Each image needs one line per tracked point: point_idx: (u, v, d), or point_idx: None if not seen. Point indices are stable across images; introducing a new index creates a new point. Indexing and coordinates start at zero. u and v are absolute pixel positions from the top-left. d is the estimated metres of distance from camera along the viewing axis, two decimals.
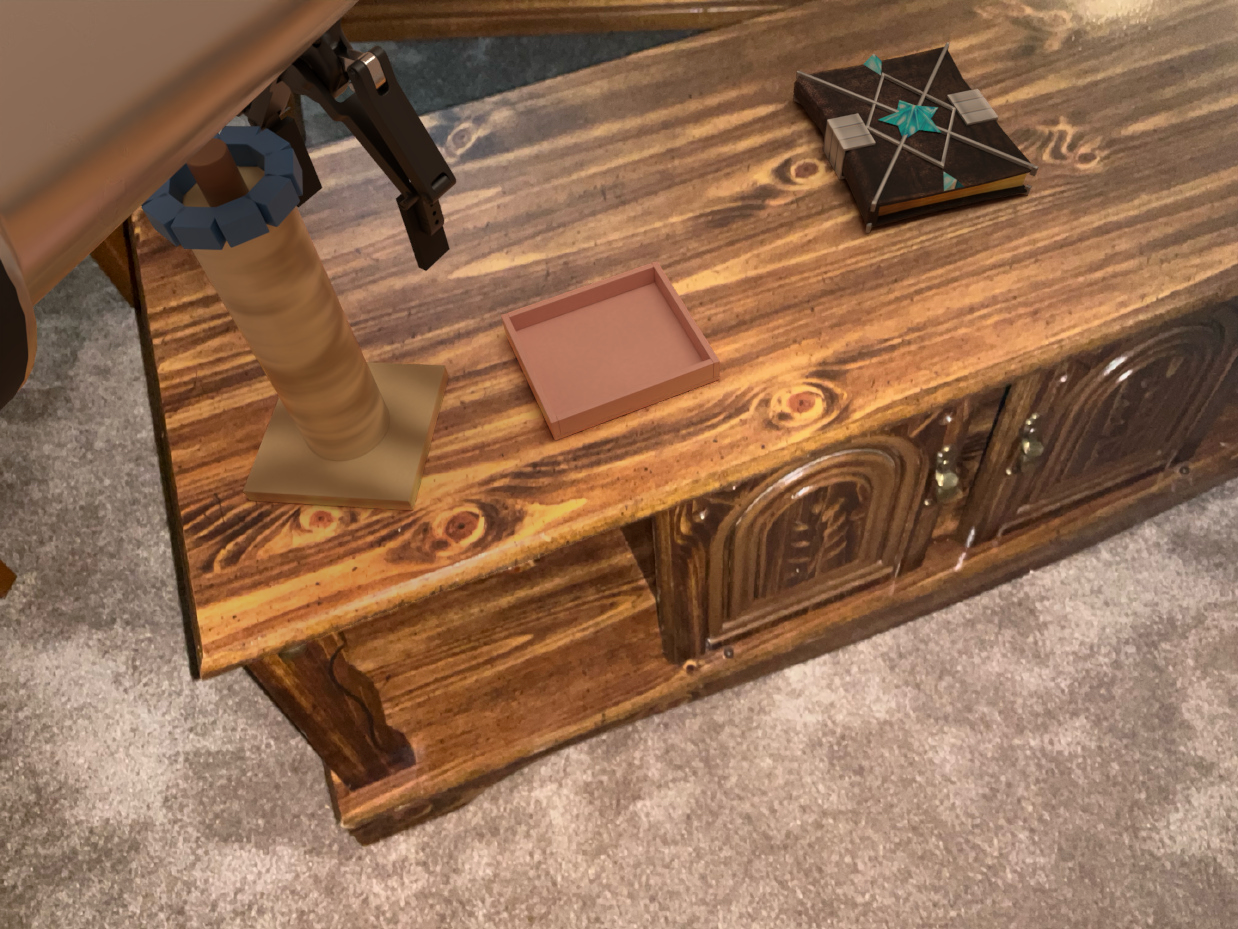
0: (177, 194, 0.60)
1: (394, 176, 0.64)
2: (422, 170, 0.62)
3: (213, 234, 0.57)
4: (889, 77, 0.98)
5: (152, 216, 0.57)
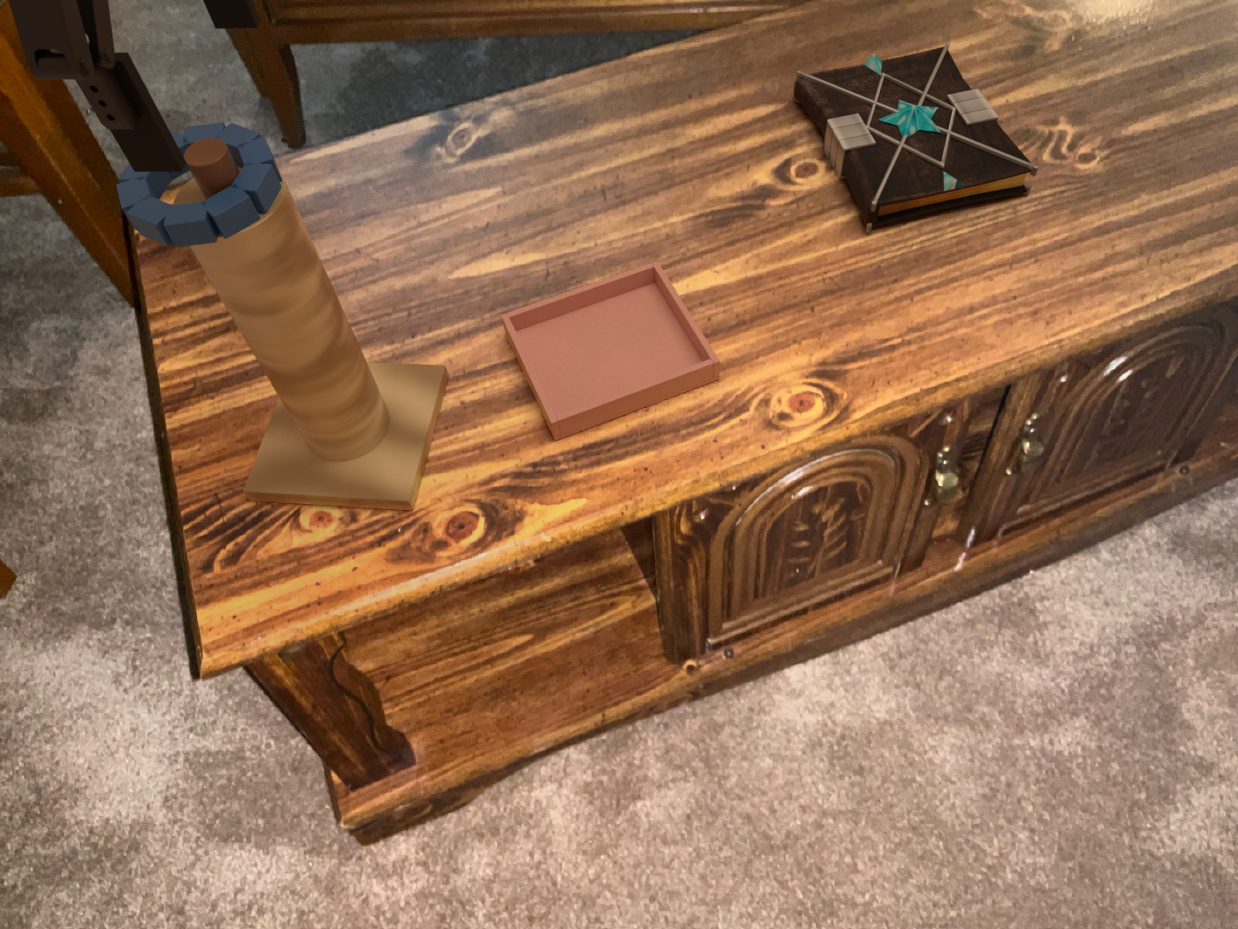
0: (161, 178, 0.61)
1: None
2: (26, 26, 0.43)
3: (159, 231, 0.57)
4: (889, 77, 0.98)
5: (119, 196, 0.59)
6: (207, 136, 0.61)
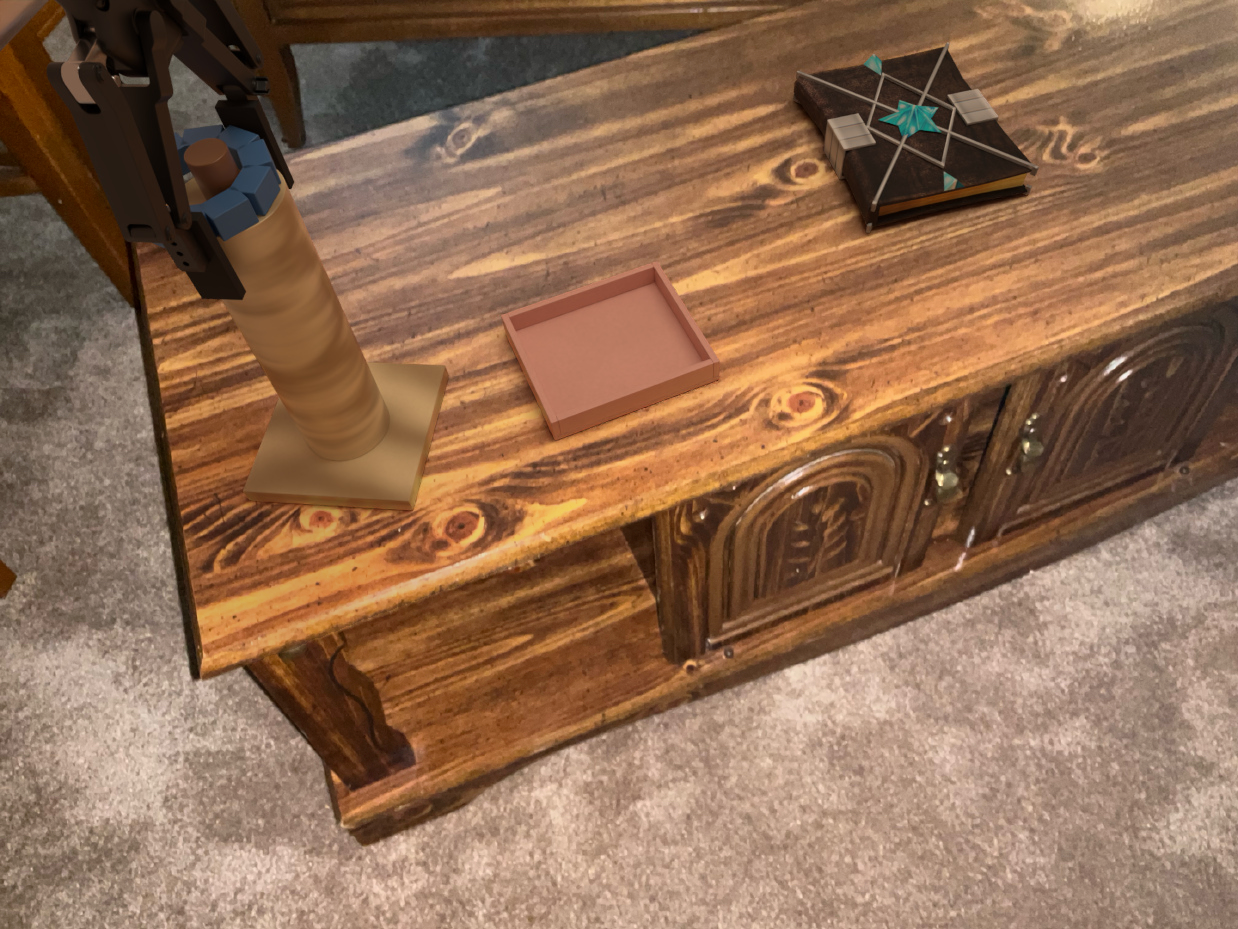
0: None
1: None
2: (120, 208, 0.51)
3: None
4: (889, 77, 0.98)
5: None
6: (206, 138, 0.61)
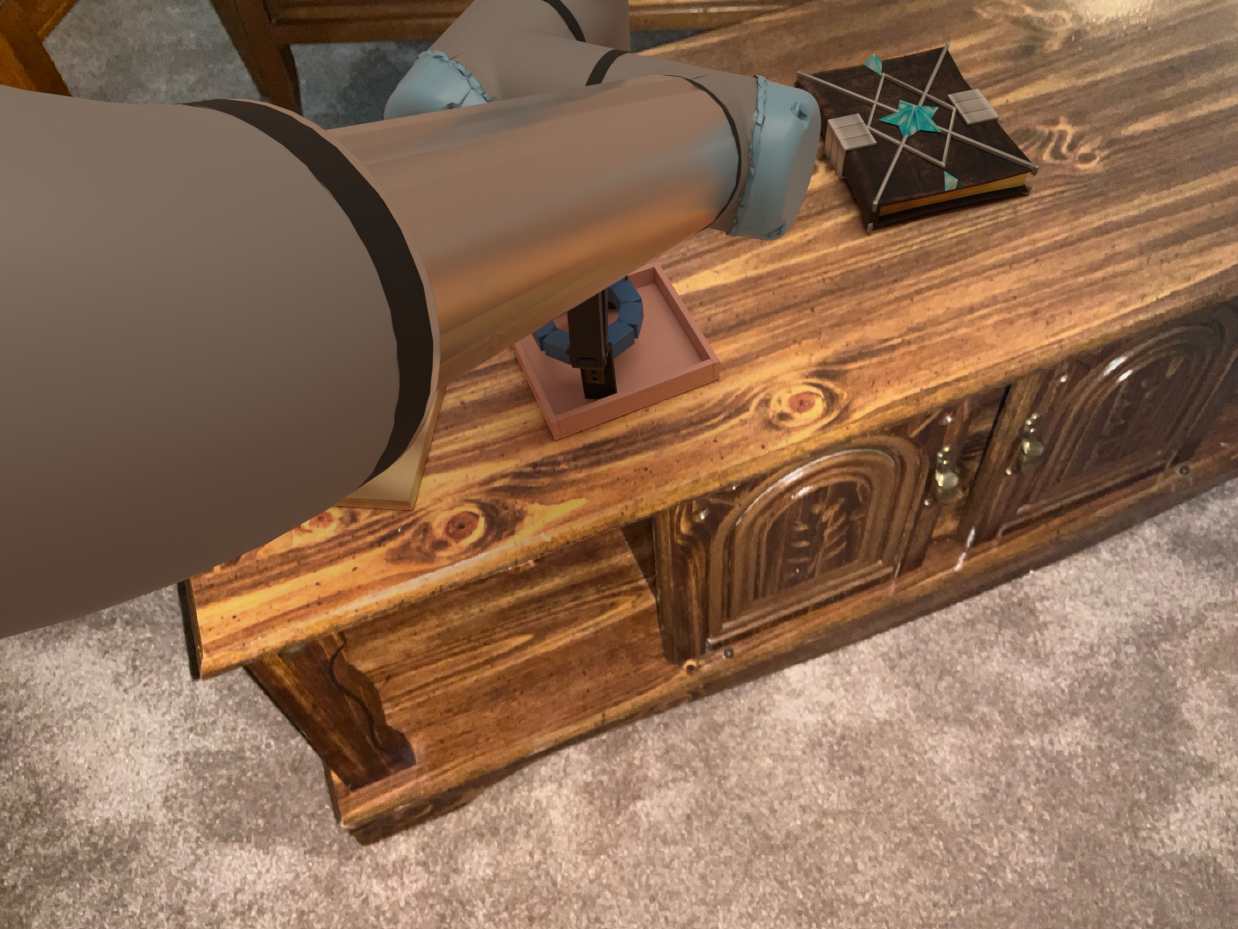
0: None
1: None
2: (576, 346, 0.72)
3: None
4: (889, 77, 0.98)
5: None
6: None
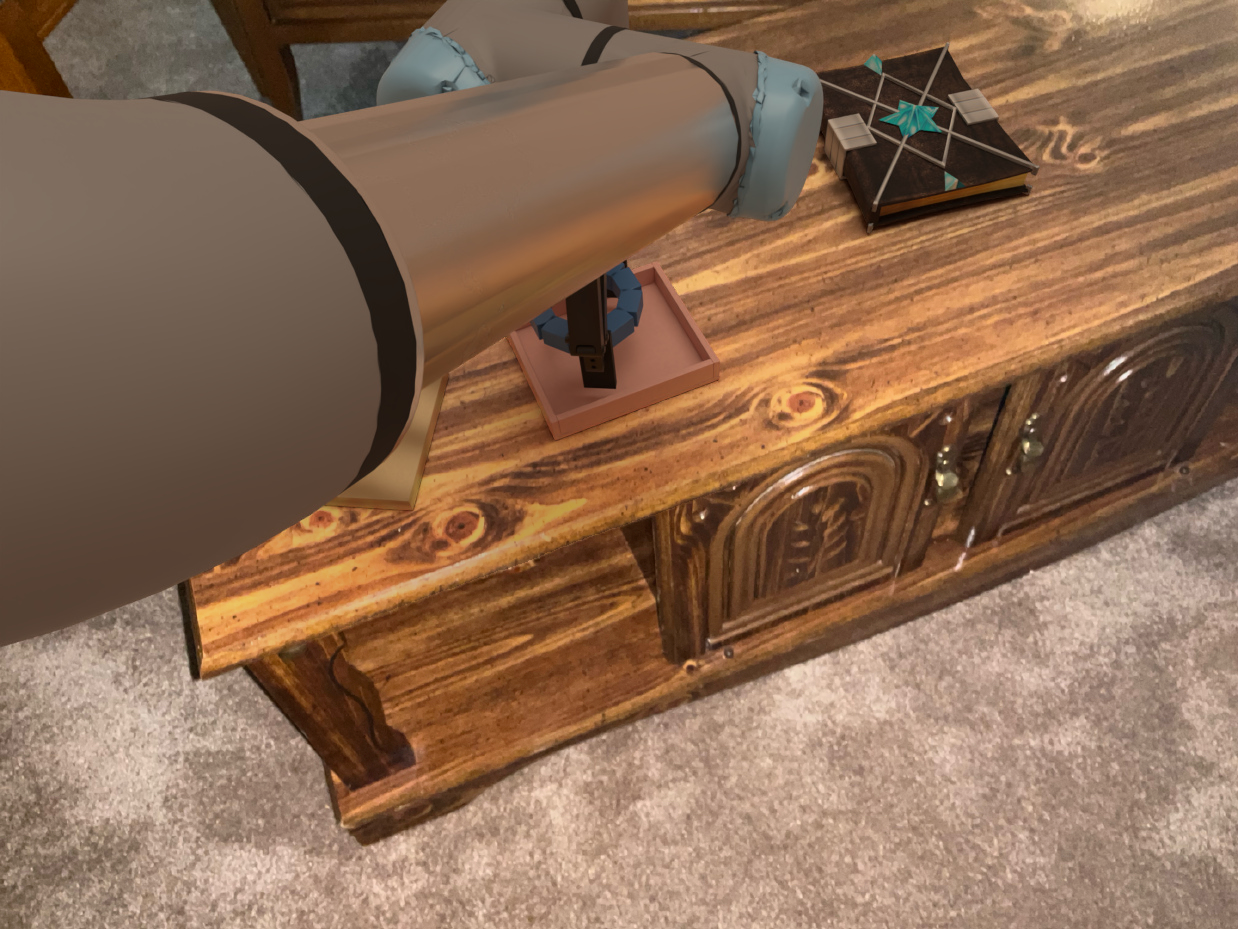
0: None
1: None
2: (575, 334, 0.71)
3: (568, 343, 0.77)
4: (889, 77, 0.98)
5: None
6: None
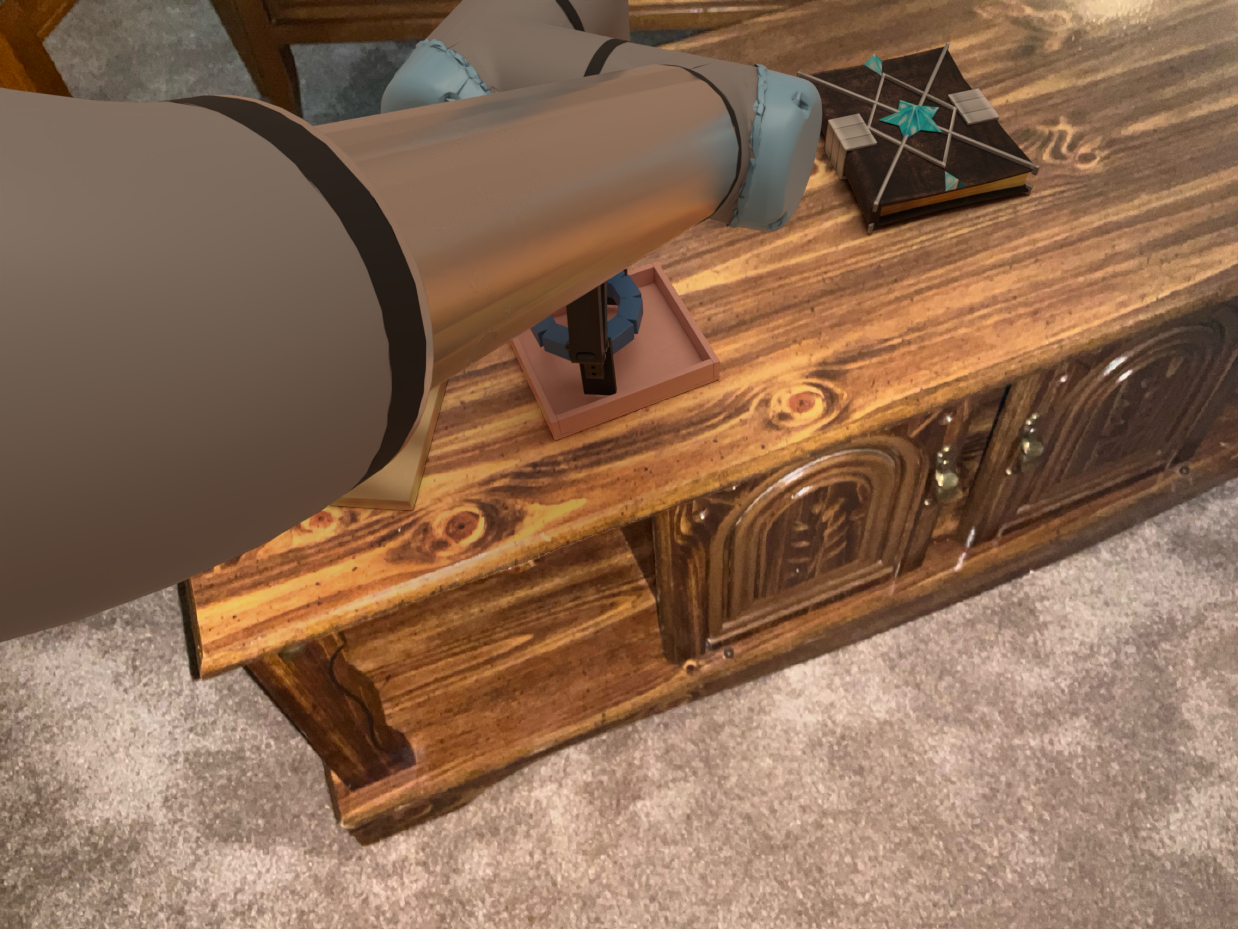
0: None
1: None
2: (575, 341, 0.71)
3: None
4: (890, 77, 0.98)
5: None
6: None
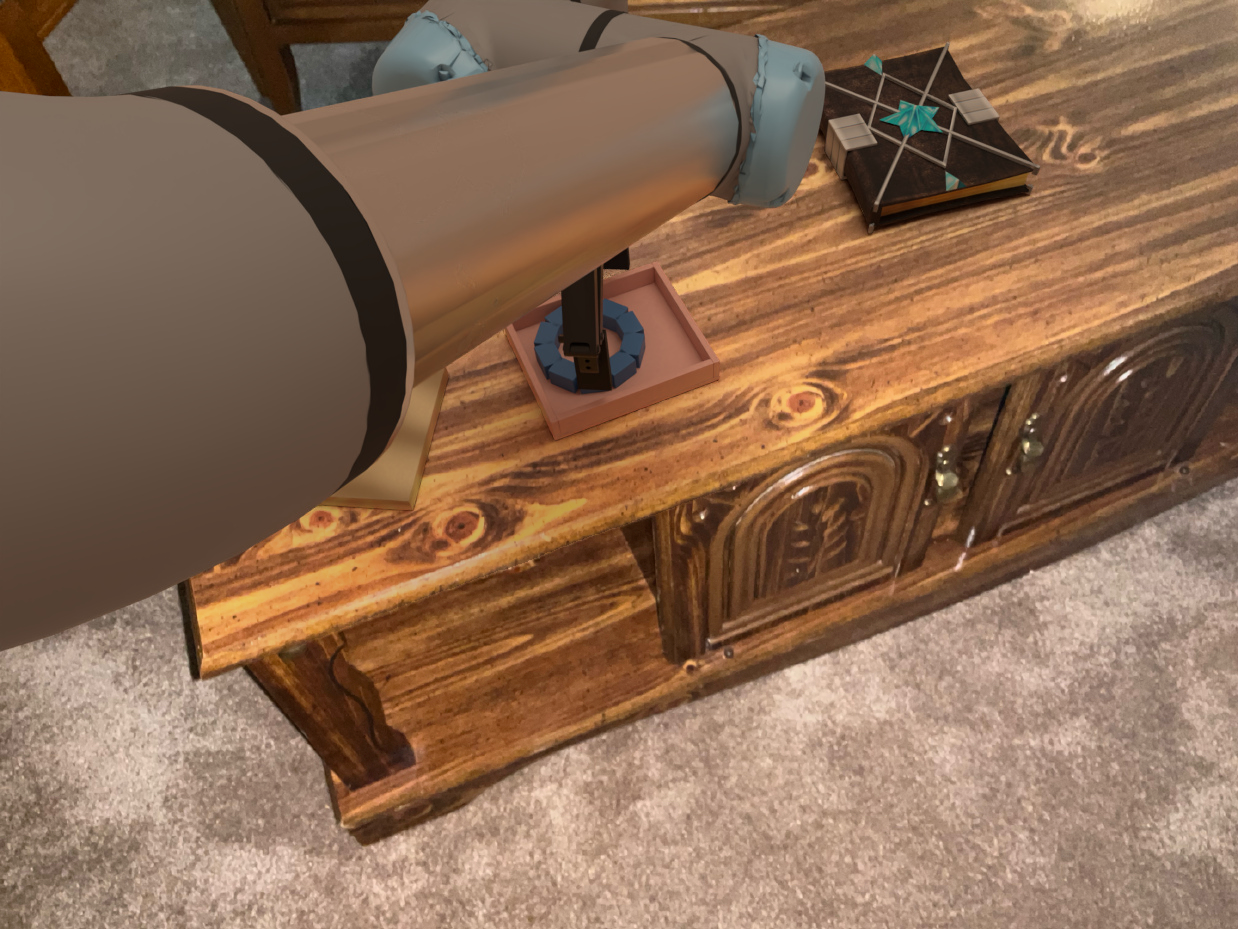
0: None
1: None
2: (569, 330, 0.69)
3: (573, 384, 0.81)
4: (890, 77, 0.98)
5: (539, 357, 0.83)
6: None
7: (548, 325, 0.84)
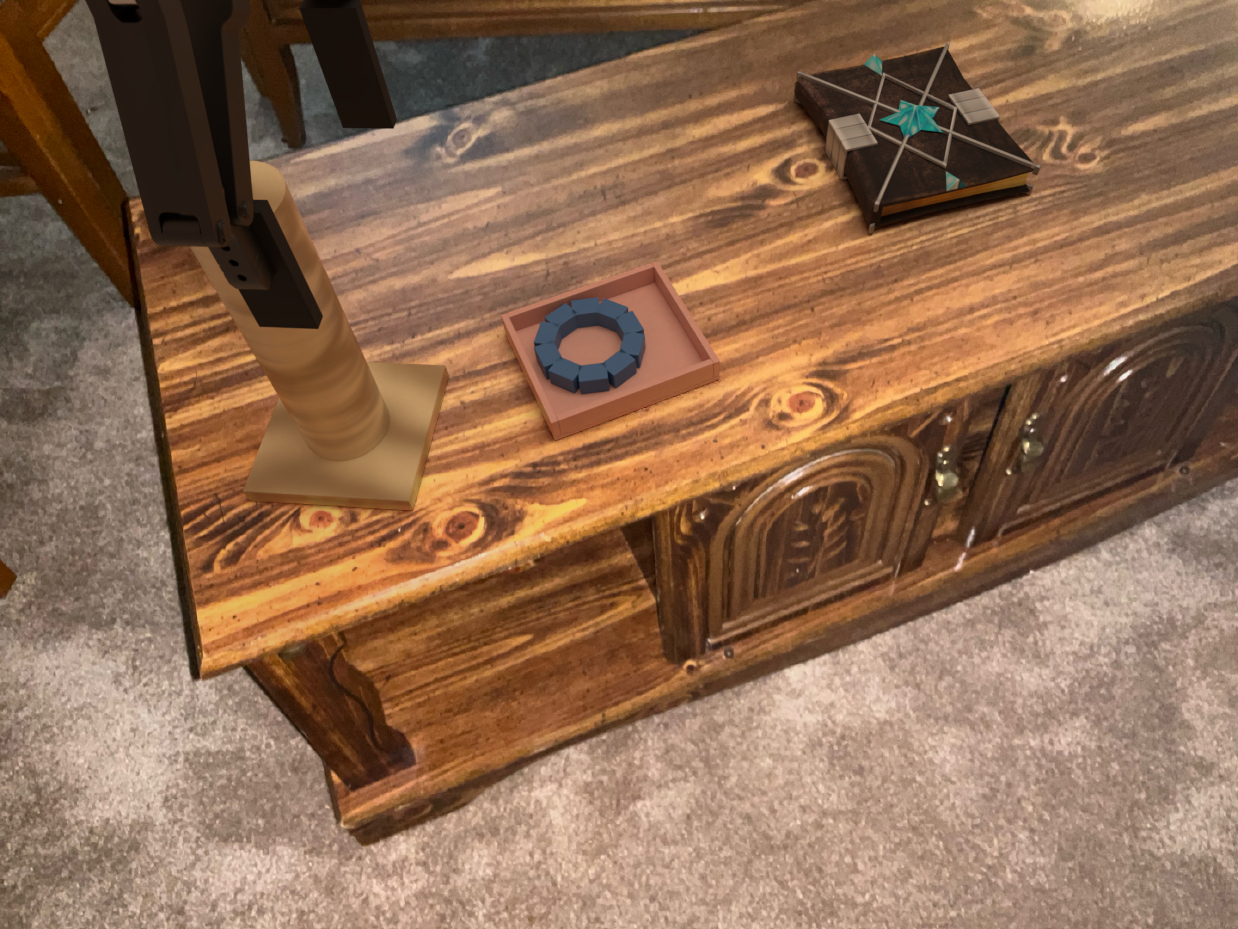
0: (558, 340, 0.85)
1: None
2: (151, 185, 0.33)
3: (573, 384, 0.81)
4: (890, 77, 0.98)
5: (539, 357, 0.83)
6: (590, 309, 0.85)
7: (548, 325, 0.84)
